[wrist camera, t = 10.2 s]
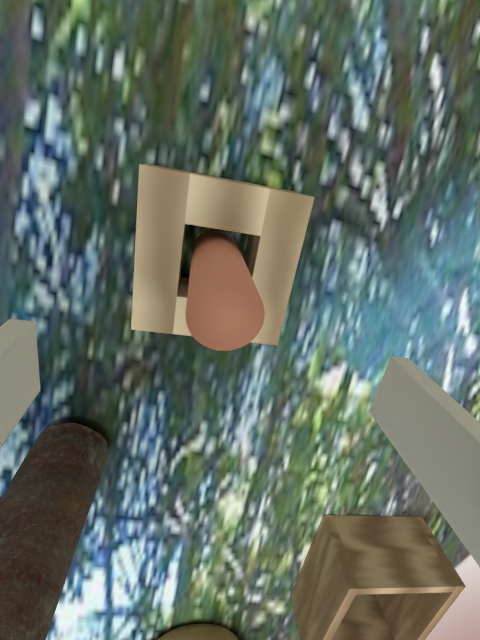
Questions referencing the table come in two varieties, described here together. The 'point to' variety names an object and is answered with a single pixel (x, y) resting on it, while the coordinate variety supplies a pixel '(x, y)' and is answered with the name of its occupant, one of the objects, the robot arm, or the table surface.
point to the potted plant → (199, 633)
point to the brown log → (45, 525)
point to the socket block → (219, 213)
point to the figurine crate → (373, 580)
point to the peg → (222, 294)
